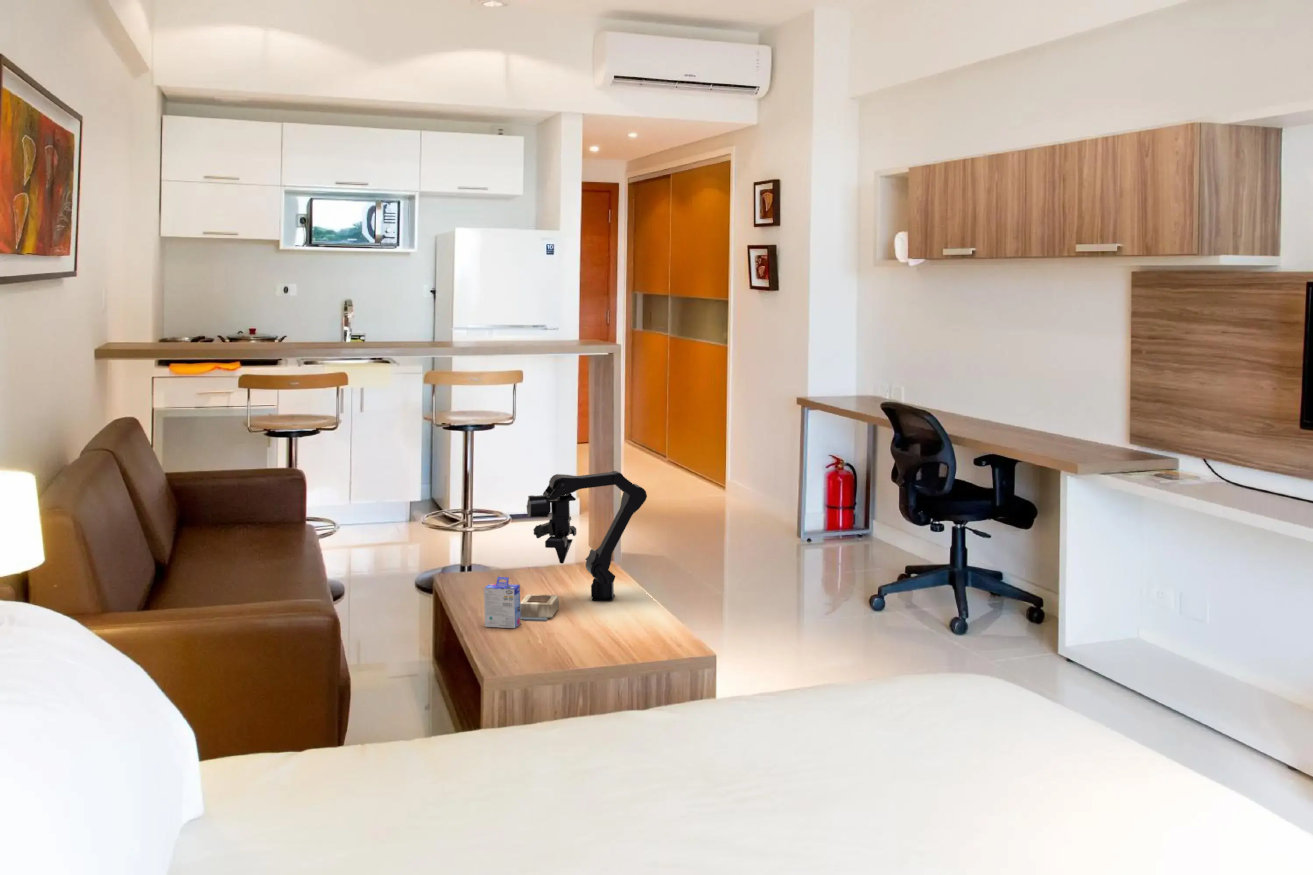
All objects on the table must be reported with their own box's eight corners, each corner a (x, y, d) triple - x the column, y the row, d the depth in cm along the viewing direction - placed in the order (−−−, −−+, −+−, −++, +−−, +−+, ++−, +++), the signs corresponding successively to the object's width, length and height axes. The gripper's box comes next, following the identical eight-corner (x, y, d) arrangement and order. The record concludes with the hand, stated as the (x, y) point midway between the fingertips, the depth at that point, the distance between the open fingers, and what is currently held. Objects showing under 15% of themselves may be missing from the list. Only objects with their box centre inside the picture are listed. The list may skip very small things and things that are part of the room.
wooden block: (558, 594, 363) (527, 593, 365) (551, 603, 354) (519, 602, 355) (558, 607, 364) (527, 606, 366) (551, 617, 354) (519, 616, 356)
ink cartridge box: (521, 623, 351) (520, 576, 349) (516, 629, 346) (514, 581, 344) (490, 621, 353) (489, 575, 351) (484, 627, 348) (482, 580, 345)
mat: (556, 607, 366) (556, 605, 366) (546, 621, 353) (546, 619, 353) (522, 606, 368) (522, 604, 368) (510, 620, 354) (510, 618, 354)
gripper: (542, 508, 377) (543, 555, 379) (528, 521, 359) (529, 570, 361) (576, 508, 375) (577, 555, 378) (563, 521, 357) (565, 571, 360)
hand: (561, 563), depth 369 cm, fingers closed
